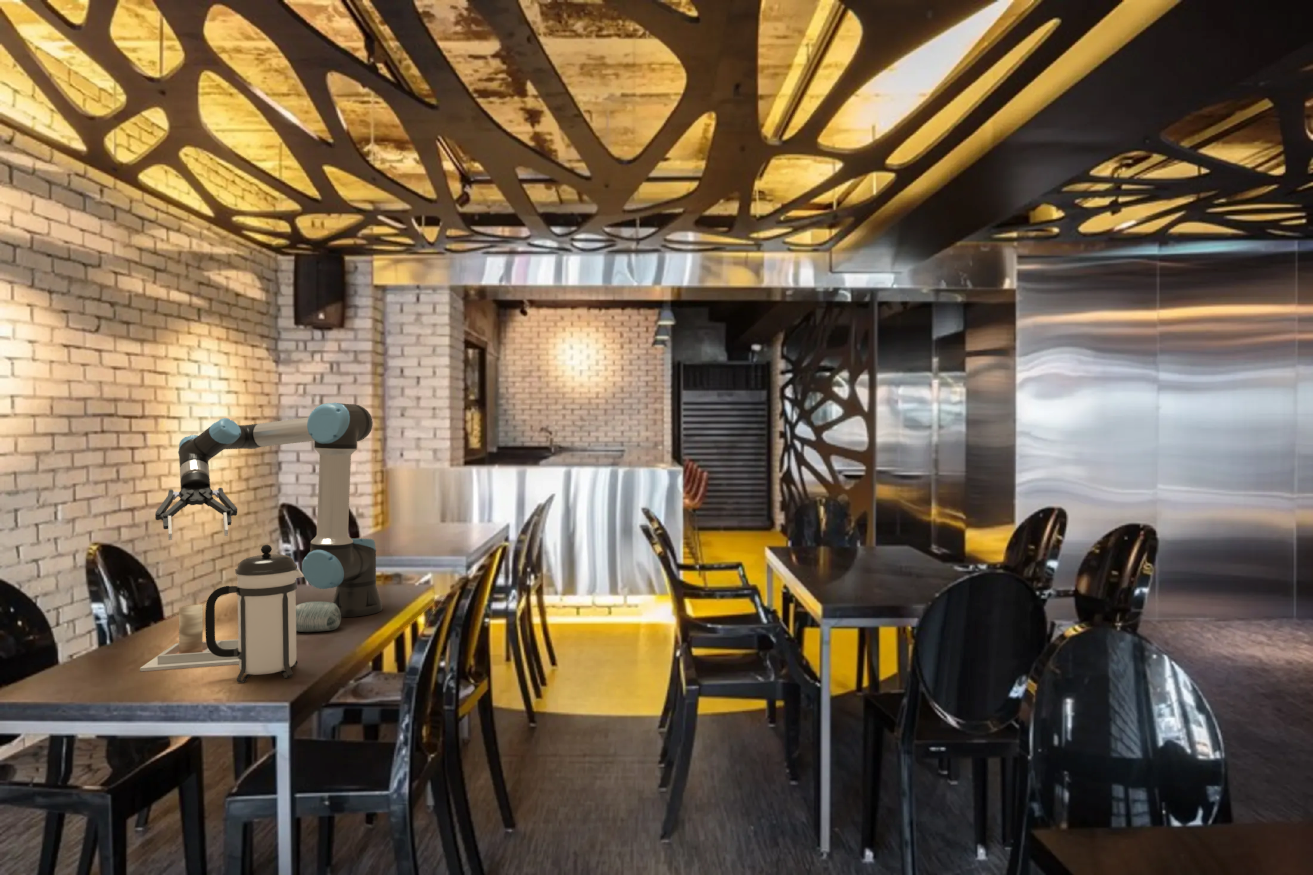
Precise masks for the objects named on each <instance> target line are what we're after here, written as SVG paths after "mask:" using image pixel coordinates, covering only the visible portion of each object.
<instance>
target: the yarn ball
mask: <svg viewBox="0 0 1313 875" xmlns="http://www.w3.org/2000/svg"><path fill="white" fill-rule="evenodd" d="M341 621H342V617H341V613H340V610H339V608H338V606H337V605H336V604H335V603H332V602H331V601H318V600H317V601H306V602H301V603H298V604H296V632H299V633H318V632H326V631H327V632H329V631H334V630H336V629H338V628H339V627H340V624H341Z"/></svg>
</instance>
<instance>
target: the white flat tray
mask: <svg viewBox="0 0 1313 875" xmlns="http://www.w3.org/2000/svg"><path fill="white" fill-rule="evenodd" d="M215 641H216V644H217V645H218V646H219V647H220V648H222V649H236V648H238V638H236V639H222V640H219V639H218V640H215ZM232 665H233V666H235V665H236V666H237V665H239V659H238V658H237V657H220V656H216V655H214V654H213V653H211V652H210V650H209V649H208V647H207V643H206V640H205V641H203V652H198V653H183V654H179V642H178V643H177V642H176V643H174V644H173V645H171V646H170V647H169V648H167V649H165V650H164V651H162V652H161V653H160V654H158V655H156V656H155V657H153V659H151V660H150V661H148V662H147V663H145V664H144V665H142V666H141V667H140V668H139V672H150V671H153V672H154V671H164V670H165V671H166V670H179V669H192V668H207V667H219V666H232Z"/></svg>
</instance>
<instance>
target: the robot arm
mask: <svg viewBox="0 0 1313 875" xmlns="http://www.w3.org/2000/svg"><path fill="white" fill-rule="evenodd" d="M373 423H374V420H373V417H372V415H371V414H370V412H369V411H368V410H367V408H365V407H363V406H361V405H359V404H354V403H341V402H328V403H322V404H320V405H318V406H317V407H315V408H314V409H313V410H312V411H311V412H310V414H309V415H308V417H304V418H303V417H301V418H294V419H285V420H278V421H270V422H262V423H261V422H260V423H253V424H252V423H251V424H239V425H238V423H236V422H235V421H234V420H232V419H230V418H227V417H223V418H220V419H219V420H217V421H216V422H215V421H214V423H212V424H211V425H210V426H209V427H208V428H206V429H205V430H204V431H202V432H201V433H200V434H199V435H196V434H191V435H189V436H184V437H183V438H182V439H181V440H180V441H179V444H178V452H177V453H178V460H179V478H180V491H174V489H169V490H168V493H167V495H166V498H165V499H164V500H163V501H162V503H161V504H160V506H159V507H158V508H157V510H156V511H155V517H154V518H155V520H156V521H160V520H161V521H162V526H163V527H162V528H163V530H168V532H167V533H168V534H167V535H168V541H172V540H173V531H172V530H173V528H172V518H173V517H175V515H176V514H177V513H179V512H180V511H181V510H182V509H183V508H186V507H187V506H188V505H189V506H196V505H198V506H202V505H206V506H207V507H210V508H212V509H214V510H215V511H216V512H218V513H219V514H220V515H222V520H223V532H224V534H223V535H224V537H228V535H229V534H228V533H229V526H231V525H232V521H233V520H232V516H234V517H236V516H237V515H238V507H237V506H236V505H235V503H233V501H232V500H231V499H230V498H229V497H228V496H227V495H226V494H225V492H224V489H223V487H219V488H217V489H215V490H214V489H212V488H211V479H210V466H209V462H210V460H211V459H213V458H214V457H216V456H217V455H218V454H220V453H221V452H222V451H224V450H239V449H240V450H242V449H243V450H247V449H248V450H254V449H260V448H265V447H272V446H273V447H274V446H281V445H291V444H299V443H306V442H308V443H309V442H313V443H314V446H313V447H314V448H313V449H314V450H315V451H316V452H317V453H318V454H319V460H318V461H319V463H318V466H319V467H318V488H317V489H318V490H317V494H318V495H317V512H316V514H317V517H316V519H317V521H316V535H315V537H313V539H312V540H311V541H310V547H309V548H310V549H309V550H310V551H309V552H308V553H307V554H306V556H305V557H304V558H303V560H302V563H301V572H302V574H303V575H304V577H303V578H304V579H305V580H306V581H307V582H308V584H310V586H312V587H314V588H316V589H320V590H327V589H333V588H335V592H334V596H333V597H332V600H331V601H332V602H331V603H335V604H336V605H337V606H338V608H339V610H340V613H341V618H351V617H352V618H353V617H355V618H357V617H362V616H364V617H365V616H369V615H370V616H371V615H374V614H378V613H380V612H382V611H383V601H382V598H381V596H380V592H379V591H378V587H377V548H376V541H375V540H374V539H373V538H352V537H350V536H349V522H350V521H349V516H350V493H351V491H350V490H351V465H352V464H351V463H352V462H351V461H352V455H353V454H354V452H356V451H357V449H358V448H357V446H358V442H361V441H362V440H363V441H364V439H366V438H367V437H368V436H369V435H370V433H372V432H371V431H372V429H373ZM213 496H215V497H216V498H217V499H219V501H220V502H219V501H218V500H216V499H215V498H214V497H213ZM178 497H179V498H180V499H179V500H178V501H176V502H175V503H174V504H173V505H172V503H173V502H174V501H175V500H176V499H177V498H178ZM171 505H172V506H171Z"/></svg>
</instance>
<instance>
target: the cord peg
mask: <svg viewBox="0 0 1313 875" xmlns="http://www.w3.org/2000/svg"><path fill="white" fill-rule="evenodd" d="M203 613H204V612H203V604H185V605H182V606H179V607H178V626H179V627H178V643H179V654H183V653H198V652H203V632H204V631H203V629H204V628H203V627H204V626H203V620H204V619H203V617H204V616H203Z"/></svg>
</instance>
